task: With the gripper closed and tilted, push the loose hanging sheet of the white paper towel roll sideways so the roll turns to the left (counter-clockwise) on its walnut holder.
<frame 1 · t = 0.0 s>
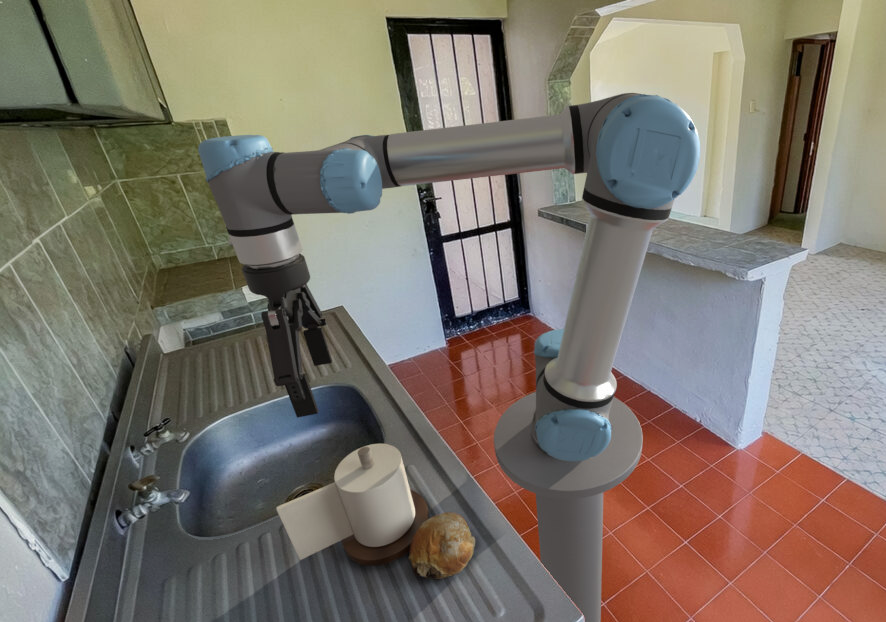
hand: (316, 386, 71), 26 cm above the table, tool pointing down, fingers open, 13 cm apart
paper towel roll: (352, 500, 73), point 8 cm above the table, hinge at 0.0°
bread roll: (443, 554, 73), on the table
towel holder: (387, 526, 78), on the table
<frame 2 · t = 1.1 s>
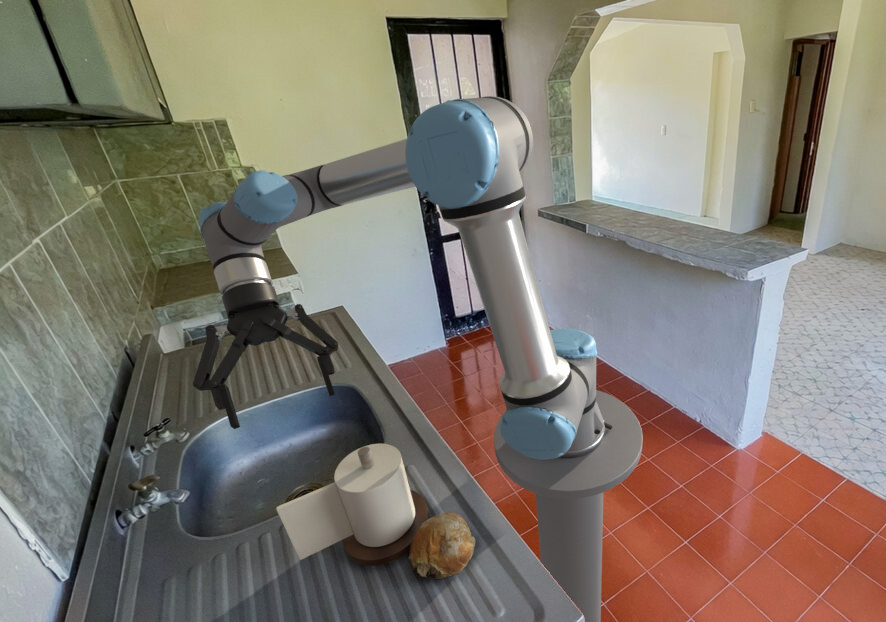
hand: (286, 410, 72), 22 cm above the table, tool tilted 45°, fingers open, 13 cm apart
nothing on the table moved.
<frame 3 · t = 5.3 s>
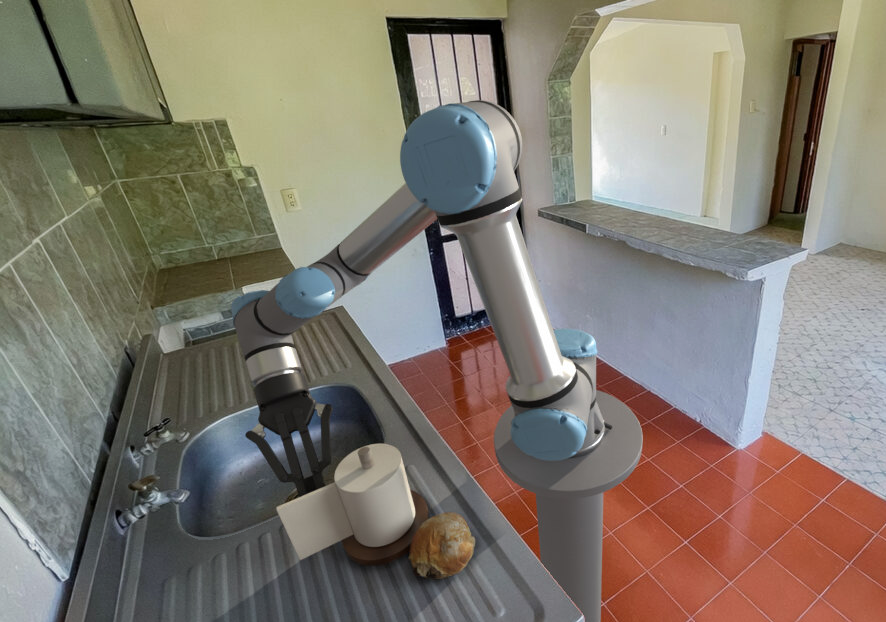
hand: (320, 517, 71), 7 cm above the table, tool tilted 45°, fingers closed
paper towel roll: (352, 500, 73), point 8 cm above the table, hinge at 0.1°, touching gripper
everything else where it was.
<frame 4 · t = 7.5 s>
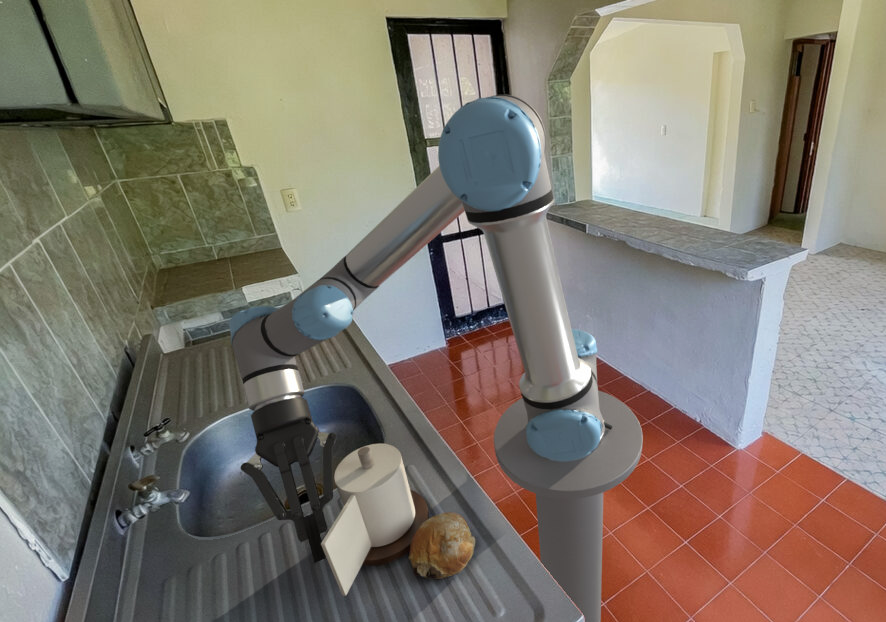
hand: (320, 560, 65), 7 cm above the table, tool tilted 45°, fingers closed
paper towel roll: (359, 512, 71), point 8 cm above the table, hinge at 50.5°, touching hand
everything else where it was.
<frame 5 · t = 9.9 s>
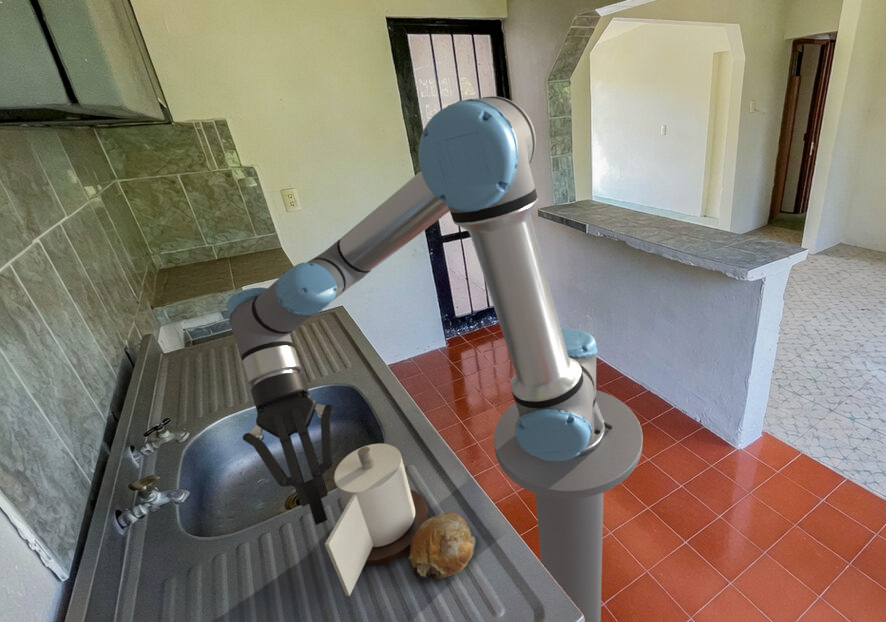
hand: (321, 522, 69), 9 cm above the table, tool tilted 45°, fingers closed
paper towel roll: (360, 512, 71), point 8 cm above the table, hinge at 52.9°
everything else where it was.
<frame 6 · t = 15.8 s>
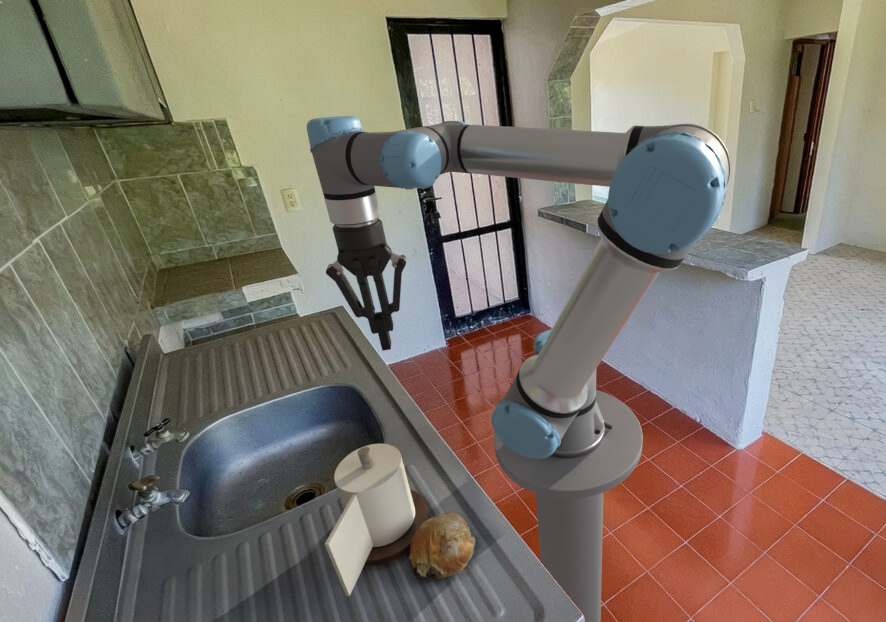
hand: (386, 346, 84), 24 cm above the table, tool pointing down, fingers closed
nothing on the table moved.
at the end: paper towel roll at +53° (first picture: +0°); bread roll moved 0.2 cm from its start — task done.
